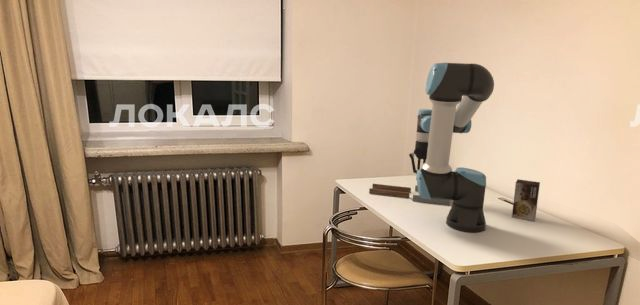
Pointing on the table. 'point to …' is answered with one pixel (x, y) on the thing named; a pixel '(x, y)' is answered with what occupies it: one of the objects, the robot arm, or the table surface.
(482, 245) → the table surface
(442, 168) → the robot arm
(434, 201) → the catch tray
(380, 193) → the chute
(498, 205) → the table surface
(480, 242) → the table surface
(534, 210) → the coffee box
